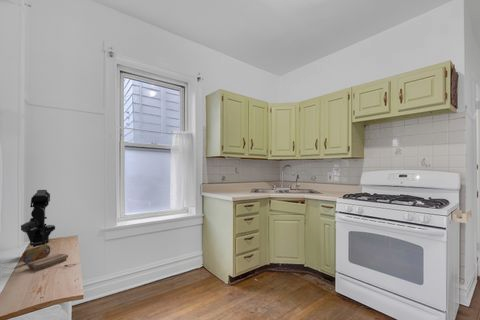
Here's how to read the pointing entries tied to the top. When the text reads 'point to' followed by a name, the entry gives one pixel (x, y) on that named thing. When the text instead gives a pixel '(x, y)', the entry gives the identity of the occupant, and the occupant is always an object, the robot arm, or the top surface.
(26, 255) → the tin
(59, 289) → the top surface
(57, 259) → the stand
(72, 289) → the top surface
